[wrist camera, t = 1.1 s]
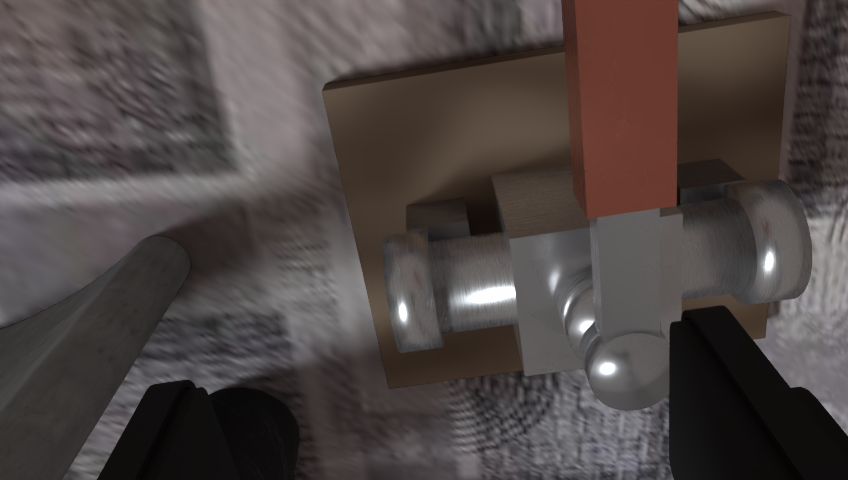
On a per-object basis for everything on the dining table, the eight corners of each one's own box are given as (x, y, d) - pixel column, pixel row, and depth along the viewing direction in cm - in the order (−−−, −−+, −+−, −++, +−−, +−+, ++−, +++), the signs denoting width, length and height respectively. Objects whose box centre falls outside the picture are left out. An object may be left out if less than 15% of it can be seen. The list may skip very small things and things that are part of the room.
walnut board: (753, 323, 40) (765, 338, 39) (389, 373, 42) (388, 388, 40) (774, 10, 32) (790, 15, 31) (325, 83, 34) (321, 91, 32)
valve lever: (658, 364, 27) (680, 406, 25) (578, 375, 27) (592, 417, 25) (656, -40, 20) (686, -33, 18) (549, -22, 21) (566, -13, 18)
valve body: (734, 259, 37) (838, 373, 28) (406, 305, 38) (404, 430, 29) (740, 136, 34) (860, 219, 25) (383, 190, 35) (373, 289, 26)
